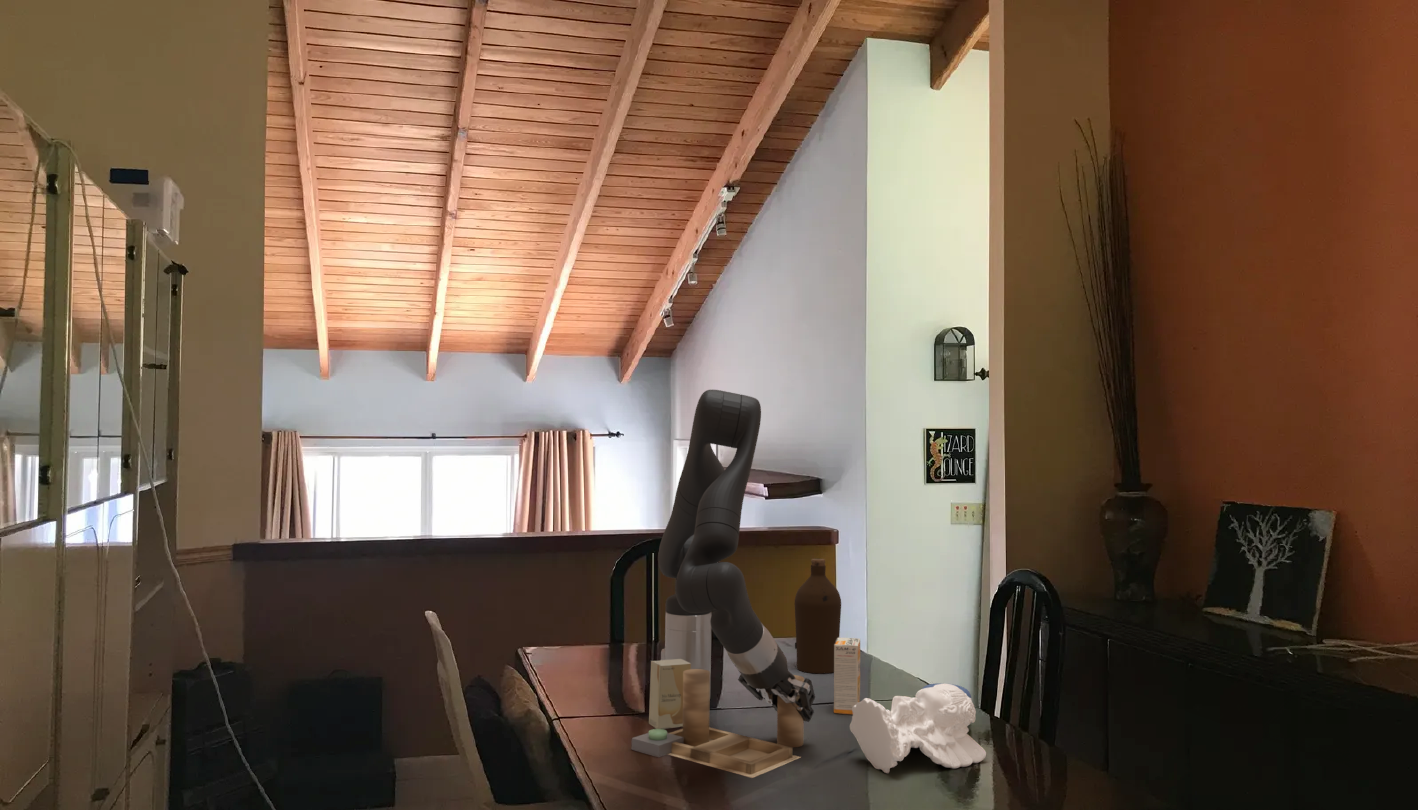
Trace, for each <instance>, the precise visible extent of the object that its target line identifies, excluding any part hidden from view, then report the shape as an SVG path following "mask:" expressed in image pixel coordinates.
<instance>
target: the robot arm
mask: <svg viewBox="0 0 1418 810" xmlns="http://www.w3.org/2000/svg"><path fill="white" fill-rule="evenodd" d="M693 415H694V416H693V420H692V421H693V422H692V428H691V434H690V440H689V443H688V450H687V454H686V458H685V461H684V464H683V468H682V471H681V474H680V476H679V479H678V484H677V488H676V491H675V496H674V501H673V502H674V503H673V506H672V509H671V514H670V517H669V519H668V522H667V525H666V527H665V529H664V532H663V535H662V537H661V541H660V543H659V548H658V553H657V554H658V555H657V561H658V567H659V570H660V572H661V574H662V575H663V576H664V577H667V578H671V579H676V580H675V588H674V589H675V593H673V594H672V595H670V596H668V597H667V598H666V600H665V617H664V618H665V619H664V620H665V621H664V622H665V628H664V633H665V634H664V635H665V636H664V641H665V642H664V648H662V649H661V652H660V660H673V659H683V660H685V661H687V662H689V663H691V669H703V670H708V671H710V680H711V679H712V678H711V676H712V675H711V670H712V669H711V668H712V666H711V665H712V661H711V660H712V659H711V658H712V657H711V656H712V632H713V634H714V635H715V637H716V638H717V639H718V641H719V642H720V644H721V645H722V646H723V648H724V650H725V651H726V653H727V656H728V658H729V659H730V661H731V662H732V663H733V665H734V667H735V668H736V669H737V670H738V673H739V677H738V679H737V680H738V682H739V683H740V684H741V685H742V686H743V687H745V688H746V690H748V691H749V693H751V695H752V696H754V697H755V698H756V699H757V700H758V701H763V699H764V700H765V702H766V703H767V704H769V705H771V706H772V708H773V709H774V710H775V712H777V699H778V695H779V696H780V697H781V698H782V699H783V700H784V701H785V702H786V703H787V704H792V705H793V706H794V707H795V708H796V710H797V711H798V713H799V714H800V715H801V717H802V718H803V720H804V722H806V723H807V722H808V723H809V722H810V721H811V719H813V718H812V717H813V715H814V714H815V710H814V709H813V708H812V706H813V703H814V701H815V698H816V694H815V689H814V686H813V682H812V680H811V679H810V678H807V677H804V682H801V681H799V680H796V679H795V676H794V675H795V674H793V673H791V671H790V670H789V667H788V660H787V656H786V655H785V654H784V652H783V651H782V649H781V647H780V646H779V644H778V643H777V641H776V640H775V638H774V637H773V635H772V634H771V632H770V631H769V630H768V628H766V627H765V625H764V624H763V623H762V622H761V619H760V618H759V617H758V615H757V613H756V612H755V611H754V609H753V607H752V603H751V601H750V598H749V594H748V589H747V586H746V585H747V584H746V581H745V577H744V573H743V572H742V570H741V569H740V568H739V567H738V566H737V565H735V564H734V563H731V562H729V561H723V560H726V559H727V558H729V557H731V556H733V555H734V554H735V553H736V551H737V550H738V549H737V548H738V546H739V539H740V529H741V518H742V510H743V504H744V498H745V494H746V489H747V484H748V482H749V478H750V474H751V469H752V465H753V461H754V456H755V452H756V447H757V443H758V437H759V432H760V428H761V420H762V419H761V418H762V408H761V403H760V401H759V400H758V399H757V398H756V397H753V396H751V395H750V396H749V395H745V394H741V393H736V392H730V391H726V390H719V389H707V390H704V392H702V394H701V395H700V397H699V399H698V401H697V405H696V407H695V411H694V414H693ZM712 445H717V446H721V447H722V446H723V447H727V448H732V449H736V452H735V454H734V456H733V459H732V460H731V462H730V463H729V465H728V466H727V467H726V468H724V466H723V465H722V463H721V461H720V460H719V458H718V456H717V455H716V454H715V452H714V450H713V447H712ZM797 695H798V696H799V697H800V698H799V700H798V702H797V701H796V697H797Z"/></svg>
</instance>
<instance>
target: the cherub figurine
mask: <svg viewBox="0 0 1418 810" xmlns="http://www.w3.org/2000/svg"><path fill="white" fill-rule="evenodd" d="M954 685H955V684H954ZM954 685H951V683H944V684H938V685H935V686H934V687H929V688H924V689H922V688H921V689H919V690H918V691H917V692H916V693H915V697H910V696H904V695H903V696H902V695H894V696H893V697H892V700H891V706H890V707H891V708H890V709H886V708H885V707H884V705H882V704H881V703H878V702H877V701H876V700H873V699H872V698H867V697H865V698H863V699H862V700H860V702H858V703H857V704H856V705H855V706H853V707H852V712H853V714H852V716H851V722H850V724H849V731H850V732H851V733H852V734H853V736H854V738H855V739H856V740H857V743H858V745H859V747H860V750H861V751H862V752H863V755H864V757H865V758H866V759H867V760H868V761H869V762H870V763H871V765H872V766H873V768H875V769H876V770H882V772H884V773H885V774H889V773H890V769H891V768H895V767H896V766H897V765H898V762H902V761H903V760H905V759H904V758H905V757H907V756H908V755H909V754H910V752H911V748H912V749H918V748H919V750H920V752H921V753H922V754H924V755H925V756H927V757H928V758H930V760H931V761H932V762H933V763H934V764H937V765H941V766H942V767H944V768H950V769H954V770H955V769H959V768H960V767H962V768H965V767H970V766H971V765H972V764H973V763H974V764H978V763H980V762H982V761H983V760H984V759H985V758H986V756H987V752H986V750H985V748H983V747H982V746H981V745H980V744H979V743H978V742H977V741H976V740H974V738H972V736H970V735H969V734H968V732H969V731H970V729H969V727H968V726H969V725H970V724H972V723H975V721H976V714H977V711H976V708H975V704H974V703H973V701H972V697H971V698H969V697H968V696H967V694H966V693H964V692H963V691H962V690H961V689H959V688H958V687H956V686H954Z"/></svg>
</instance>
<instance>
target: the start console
mask: <svg viewBox="0 0 1418 810" xmlns="http://www.w3.org/2000/svg"><path fill="white" fill-rule="evenodd" d="M669 733H670V732H668V731H667V730H666V729H656V728H652V729H650V730H648V732H647V733H643V734H641V735H637V736H634V737H632V738H631V750H632V751H634V752H637V753H642V754H644V755H645V754H646V755H649V756H652V757H656V758H660V757H664V756H667V754H669V753H671V748H672V743H674V742H678V743H682V744H684V737H681V736H677V735H673V734H669Z"/></svg>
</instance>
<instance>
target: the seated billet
mask: <svg viewBox="0 0 1418 810" xmlns="http://www.w3.org/2000/svg"><path fill="white" fill-rule="evenodd" d="M710 699H711V679H710V671H708V670H703V669H689V670H685V671H684V672H683V726H682V729H683V737H684V744H686V745H689V746H693V747H696V746H698V745H701V744H704V743H707V742H709V727H710V702H711V701H710Z"/></svg>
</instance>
